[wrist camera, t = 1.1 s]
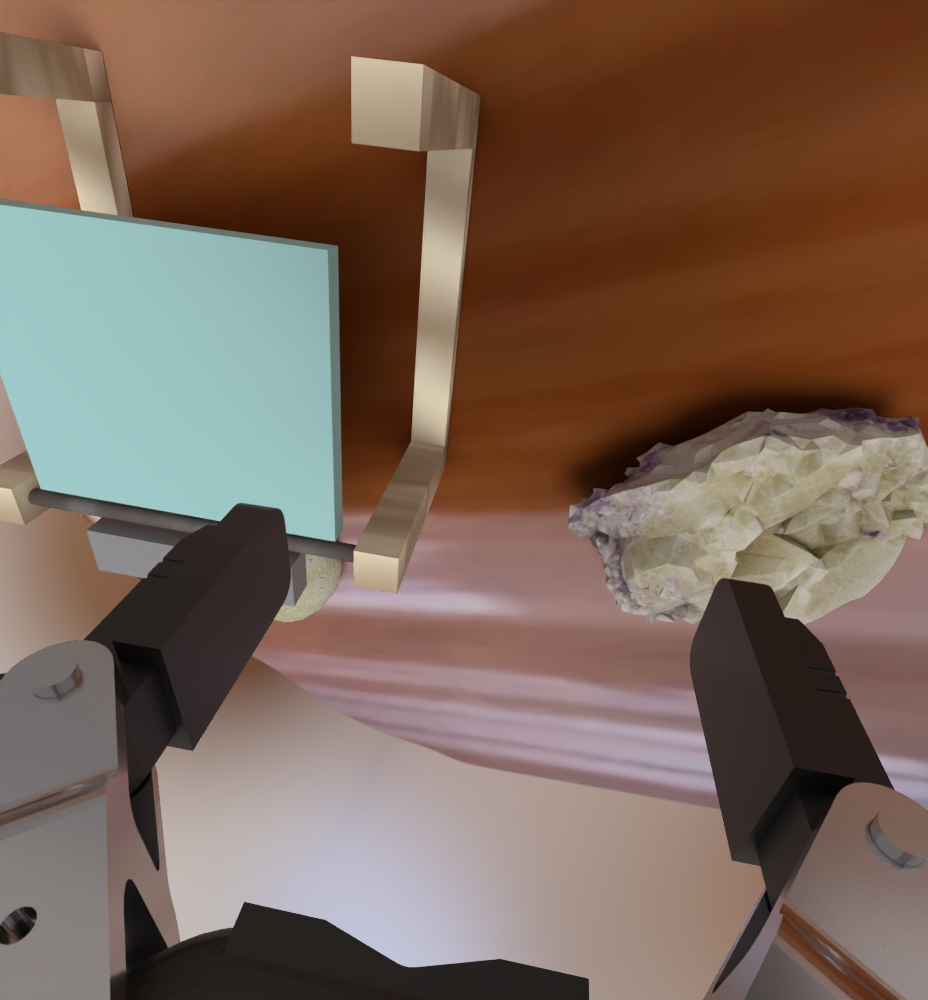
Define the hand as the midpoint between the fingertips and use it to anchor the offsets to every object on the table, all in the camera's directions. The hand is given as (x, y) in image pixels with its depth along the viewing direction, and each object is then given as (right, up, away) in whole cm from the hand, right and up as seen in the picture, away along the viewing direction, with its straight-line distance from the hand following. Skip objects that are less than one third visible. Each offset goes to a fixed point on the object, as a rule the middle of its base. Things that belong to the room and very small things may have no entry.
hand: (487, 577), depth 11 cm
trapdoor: (-12, +5, +14) cm, 19 cm away
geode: (+15, +2, +24) cm, 28 cm away
